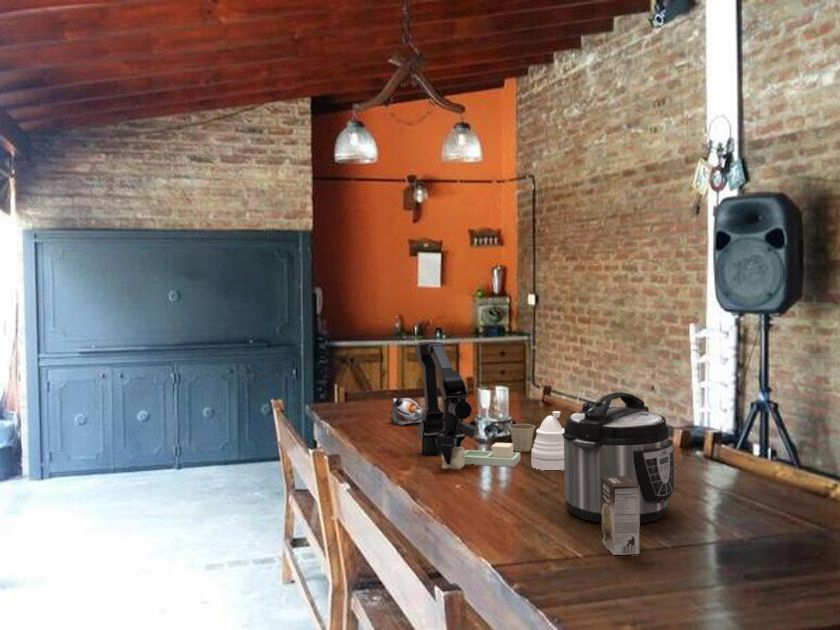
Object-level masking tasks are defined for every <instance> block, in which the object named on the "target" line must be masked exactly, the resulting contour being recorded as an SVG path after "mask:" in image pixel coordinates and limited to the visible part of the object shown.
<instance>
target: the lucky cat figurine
mask: <svg viewBox="0 0 840 630" xmlns="http://www.w3.org/2000/svg"><path fill="white" fill-rule="evenodd" d="M391 404H392V409H391V412H390V421H392V423H393V425H398V426H404V425H407V424H417V423H418V424H420V422H421V416H422V414H423V412H424V408H423V407H421V406H419V404H418V403H417V402H416V401H415V400H413V399H412V398H409V397H405V398H404V397H403V398H396V397H394V398H392V403H391Z"/></svg>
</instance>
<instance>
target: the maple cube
mask: <svg viewBox="0 0 840 630" xmlns="http://www.w3.org/2000/svg"><path fill="white" fill-rule="evenodd" d="M464 451H465V447H463V446H461V447H454V448H453V450H452V458H451V464H447V463H446V461H445V459H444V456H443V454H442V453H441V469H447V468H451V470H461V469H462V468H463V467H465V465H466V464H465V455H464Z"/></svg>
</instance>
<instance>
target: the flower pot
mask: <svg viewBox="0 0 840 630" xmlns="http://www.w3.org/2000/svg"><path fill="white" fill-rule="evenodd" d="M535 428H536V426H535V425H533V424H529V423H516V424H510V425H509V426H508V429H509V432H510V435H511V441H512V442H511V443H513V451H515V452H516V453H523V452H531V451H530V450H532V446H533V444H532V443H533V436H534V431H535Z"/></svg>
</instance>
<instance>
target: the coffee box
mask: <svg viewBox="0 0 840 630" xmlns="http://www.w3.org/2000/svg"><path fill="white" fill-rule="evenodd" d="M601 506H602V523H601V543H603V544H602V545H603V546H604V545H605V546H604V547H605V549H606V550H607V551H608V550H609V551H610V552H611V553H612V554H613V555H626V554H640V551H641V550H640V537H641V536H640V535H641V534H640V532H641V531H640V524H641V523H640V486H639V485H638V484H637V483H635V482H634V481H633V480H631V479H630V478H629V477H627V476H602V477H601ZM610 552H609V553H610ZM611 553H610V554H611ZM612 554H611V555H612ZM613 555H612V556H613ZM640 555H641V554H640Z"/></svg>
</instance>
